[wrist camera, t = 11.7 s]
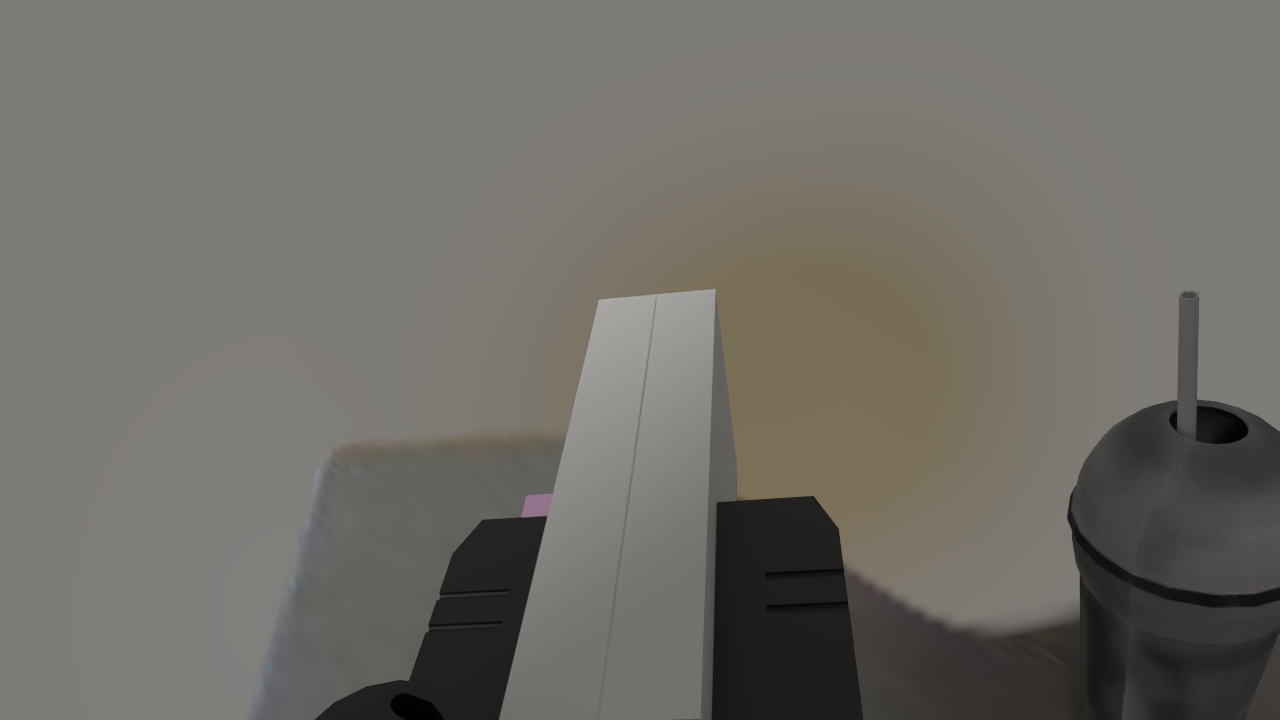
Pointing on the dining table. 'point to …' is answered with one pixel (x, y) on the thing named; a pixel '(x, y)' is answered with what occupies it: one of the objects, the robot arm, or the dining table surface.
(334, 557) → the dining table surface
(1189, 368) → the beverage cup
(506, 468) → the dining table surface
